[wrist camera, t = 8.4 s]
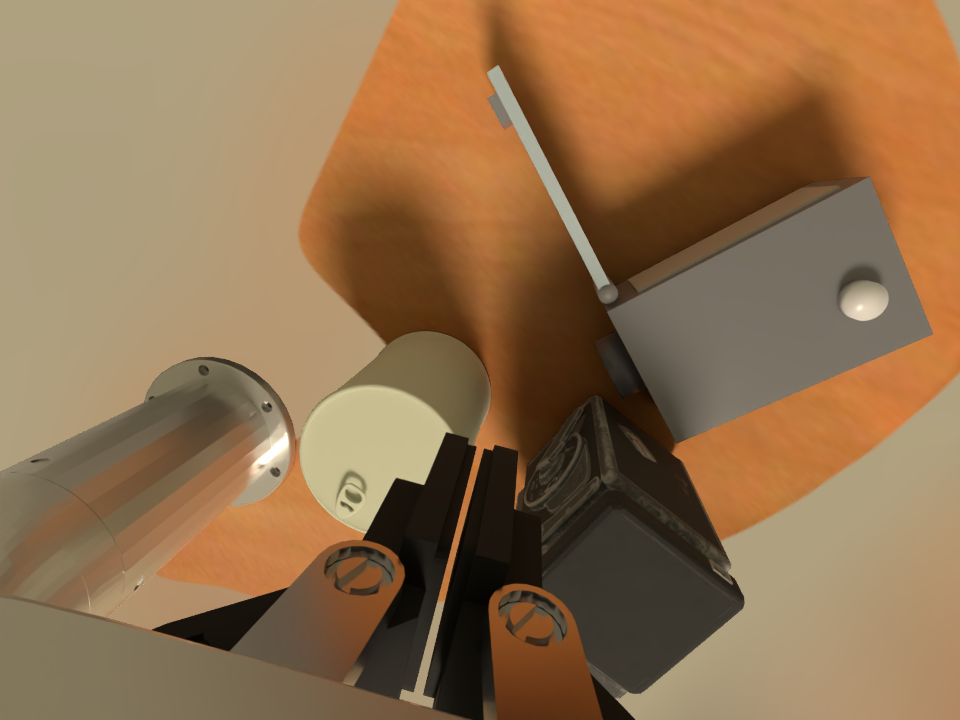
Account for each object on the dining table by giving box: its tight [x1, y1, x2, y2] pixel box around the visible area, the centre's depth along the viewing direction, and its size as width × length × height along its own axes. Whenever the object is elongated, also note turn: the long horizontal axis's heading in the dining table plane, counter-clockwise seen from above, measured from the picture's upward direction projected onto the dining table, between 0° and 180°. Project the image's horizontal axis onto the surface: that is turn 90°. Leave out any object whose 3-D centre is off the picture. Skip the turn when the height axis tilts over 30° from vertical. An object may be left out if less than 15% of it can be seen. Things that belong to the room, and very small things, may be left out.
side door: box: [487, 65, 618, 304], centre depth 31 cm, size 14×2×5 cm, turn 30°
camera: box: [516, 396, 744, 699], centre depth 32 cm, size 10×11×15 cm
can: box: [299, 331, 491, 533], centre depth 33 cm, size 9×9×12 cm
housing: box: [594, 177, 933, 443], centre depth 31 cm, size 16×9×7 cm, turn 120°
